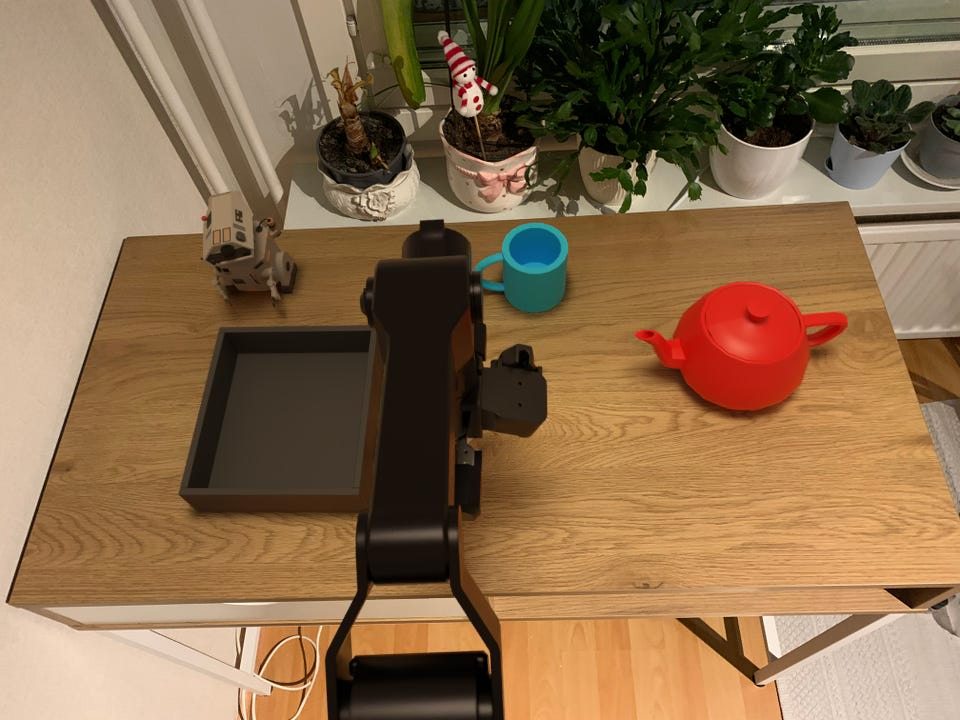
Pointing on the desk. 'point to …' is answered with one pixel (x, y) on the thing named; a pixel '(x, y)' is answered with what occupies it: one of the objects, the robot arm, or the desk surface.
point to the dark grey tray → (287, 421)
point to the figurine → (243, 248)
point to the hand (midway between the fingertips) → (456, 452)
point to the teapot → (744, 345)
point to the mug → (531, 267)
